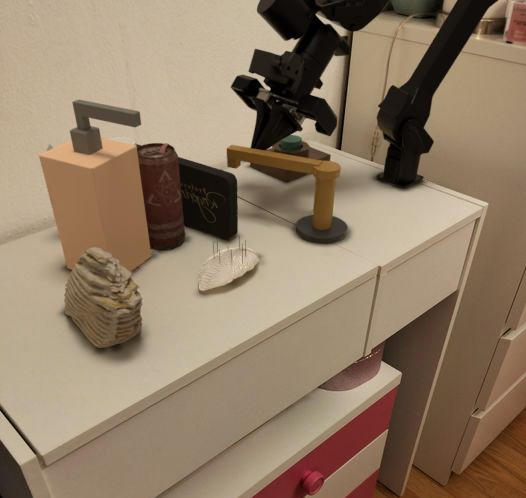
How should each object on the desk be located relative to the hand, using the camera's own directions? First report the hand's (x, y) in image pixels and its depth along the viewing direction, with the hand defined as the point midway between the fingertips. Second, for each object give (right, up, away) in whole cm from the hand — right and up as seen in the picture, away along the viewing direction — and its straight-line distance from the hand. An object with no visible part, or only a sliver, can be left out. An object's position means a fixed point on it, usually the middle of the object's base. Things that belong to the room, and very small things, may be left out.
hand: (254, 152), depth 85 cm
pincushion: (-3, -20, -8) cm, 22 cm away
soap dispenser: (-19, -19, -7) cm, 27 cm away
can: (-14, -14, -1) cm, 19 cm away
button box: (+7, +5, +22) cm, 23 cm away
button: (+7, +8, +20) cm, 22 cm away
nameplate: (-12, -10, +4) cm, 16 cm away
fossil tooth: (-18, -28, -17) cm, 38 cm away
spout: (+4, -4, -1) cm, 6 cm away
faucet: (+11, -12, +2) cm, 16 cm away
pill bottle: (-21, -8, +7) cm, 23 cm away
